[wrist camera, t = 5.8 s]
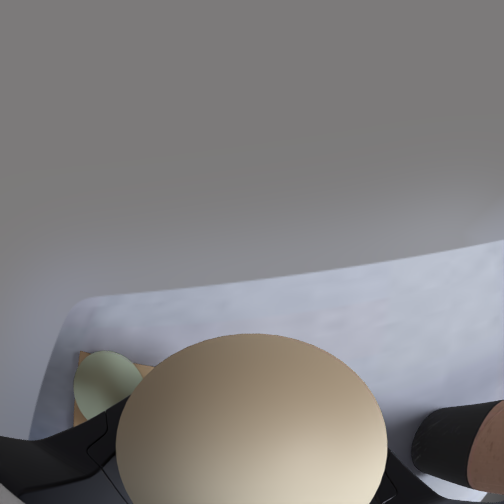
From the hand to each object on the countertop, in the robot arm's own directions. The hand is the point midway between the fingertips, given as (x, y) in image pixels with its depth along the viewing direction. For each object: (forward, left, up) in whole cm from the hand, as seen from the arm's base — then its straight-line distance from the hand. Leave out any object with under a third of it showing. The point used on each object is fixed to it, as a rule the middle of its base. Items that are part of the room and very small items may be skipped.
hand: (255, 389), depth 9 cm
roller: (-1, 0, -6) cm, 6 cm away
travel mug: (-7, -19, -14) cm, 24 cm away
